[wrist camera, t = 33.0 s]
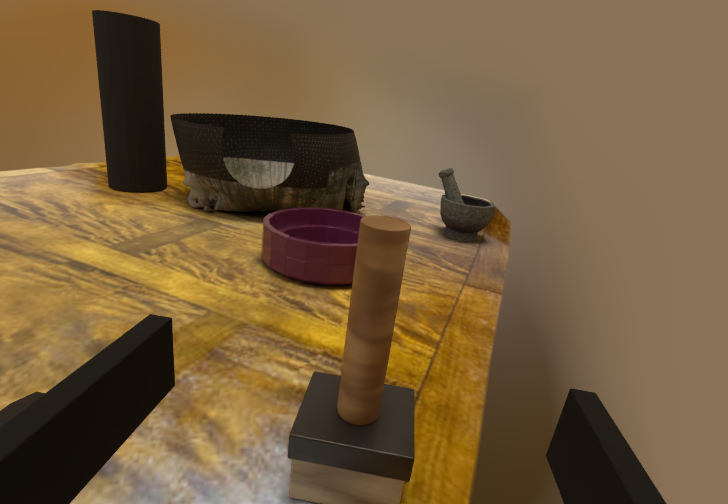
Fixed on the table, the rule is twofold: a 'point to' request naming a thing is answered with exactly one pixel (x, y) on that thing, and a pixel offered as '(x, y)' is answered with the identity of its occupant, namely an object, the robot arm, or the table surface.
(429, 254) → the table surface
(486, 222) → the mortar and pestle
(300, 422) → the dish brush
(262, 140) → the basket
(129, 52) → the vase
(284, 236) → the bowl
